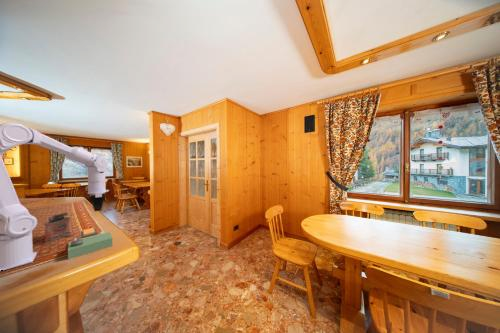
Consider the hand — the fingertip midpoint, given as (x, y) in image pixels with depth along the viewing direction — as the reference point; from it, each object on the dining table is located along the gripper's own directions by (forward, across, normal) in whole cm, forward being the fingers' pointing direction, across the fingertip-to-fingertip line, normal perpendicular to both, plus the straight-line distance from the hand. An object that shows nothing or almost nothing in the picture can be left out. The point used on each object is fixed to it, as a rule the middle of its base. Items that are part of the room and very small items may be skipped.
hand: (97, 210), depth 72 cm
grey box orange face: (+10, -10, +3) cm, 15 cm away
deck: (+10, -16, +3) cm, 19 cm away
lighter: (+10, +6, +12) cm, 17 cm away
